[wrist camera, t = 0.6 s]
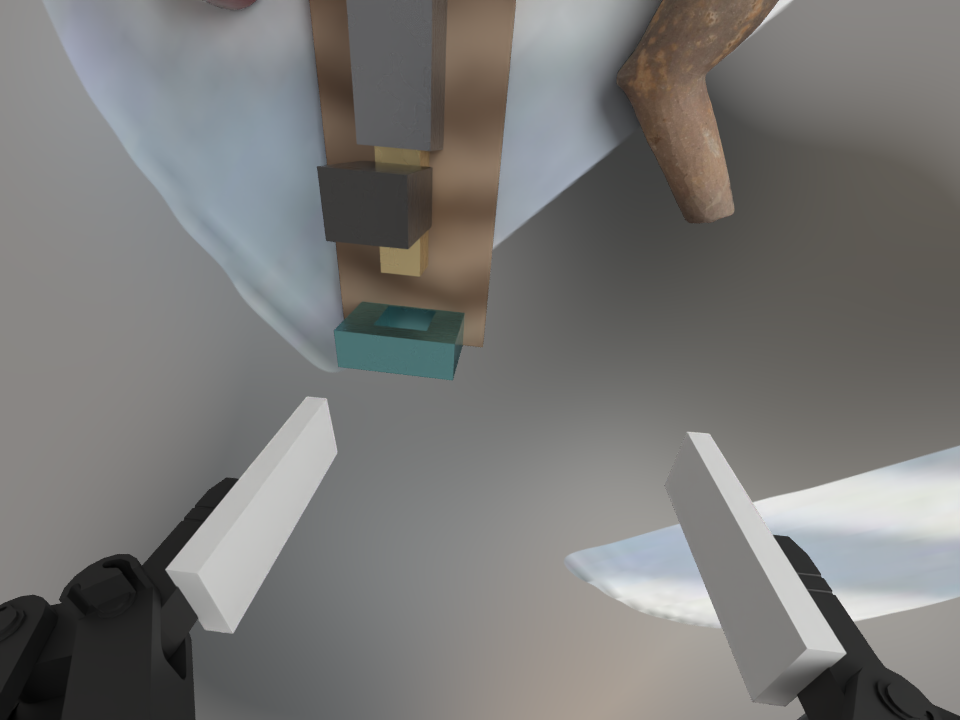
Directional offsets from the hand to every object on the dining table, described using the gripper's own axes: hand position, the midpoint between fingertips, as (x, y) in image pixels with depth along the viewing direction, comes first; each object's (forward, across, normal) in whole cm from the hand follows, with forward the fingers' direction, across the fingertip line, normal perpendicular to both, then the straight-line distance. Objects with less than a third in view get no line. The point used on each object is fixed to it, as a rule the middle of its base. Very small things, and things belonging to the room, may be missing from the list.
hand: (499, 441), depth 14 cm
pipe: (+24, +13, +13) cm, 30 cm away
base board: (+24, -9, +5) cm, 26 cm away
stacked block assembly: (+23, -9, +5) cm, 25 cm away
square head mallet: (+22, -9, +9) cm, 25 cm away
